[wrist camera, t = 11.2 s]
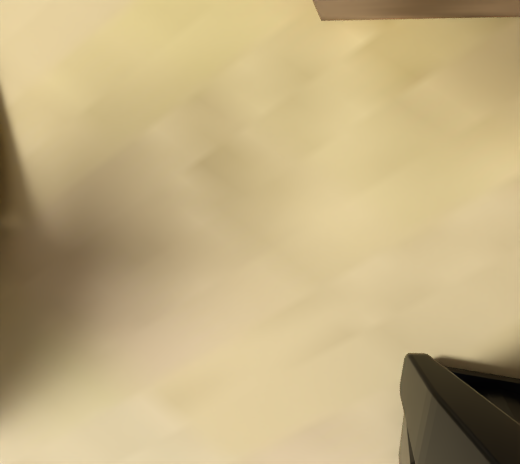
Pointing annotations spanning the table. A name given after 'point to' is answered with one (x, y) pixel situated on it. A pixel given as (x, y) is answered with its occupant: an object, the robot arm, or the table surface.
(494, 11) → the stand
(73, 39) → the table surface
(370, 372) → the table surface
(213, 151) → the table surface
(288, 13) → the table surface
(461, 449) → the robot arm
